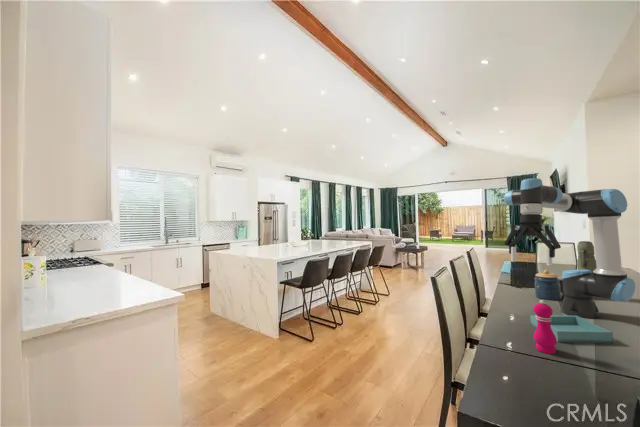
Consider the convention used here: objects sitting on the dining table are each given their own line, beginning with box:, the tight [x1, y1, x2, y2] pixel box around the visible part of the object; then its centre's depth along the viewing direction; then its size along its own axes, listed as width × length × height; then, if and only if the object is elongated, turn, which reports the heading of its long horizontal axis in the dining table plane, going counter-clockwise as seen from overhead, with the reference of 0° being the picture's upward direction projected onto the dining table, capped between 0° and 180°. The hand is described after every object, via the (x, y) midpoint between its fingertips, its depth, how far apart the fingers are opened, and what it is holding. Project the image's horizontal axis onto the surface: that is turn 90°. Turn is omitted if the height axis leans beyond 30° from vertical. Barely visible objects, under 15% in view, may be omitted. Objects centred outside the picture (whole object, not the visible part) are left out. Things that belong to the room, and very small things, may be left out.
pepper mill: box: [533, 299, 558, 355], centre depth 111 cm, size 7×7×20 cm
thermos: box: [576, 240, 600, 301], centre depth 173 cm, size 9×12×35 cm
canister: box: [533, 269, 562, 301], centre depth 177 cm, size 13×13×18 cm
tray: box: [529, 314, 614, 344], centre depth 125 cm, size 20×20×4 cm
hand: (530, 263), depth 119 cm, fingers open, 13 cm apart
